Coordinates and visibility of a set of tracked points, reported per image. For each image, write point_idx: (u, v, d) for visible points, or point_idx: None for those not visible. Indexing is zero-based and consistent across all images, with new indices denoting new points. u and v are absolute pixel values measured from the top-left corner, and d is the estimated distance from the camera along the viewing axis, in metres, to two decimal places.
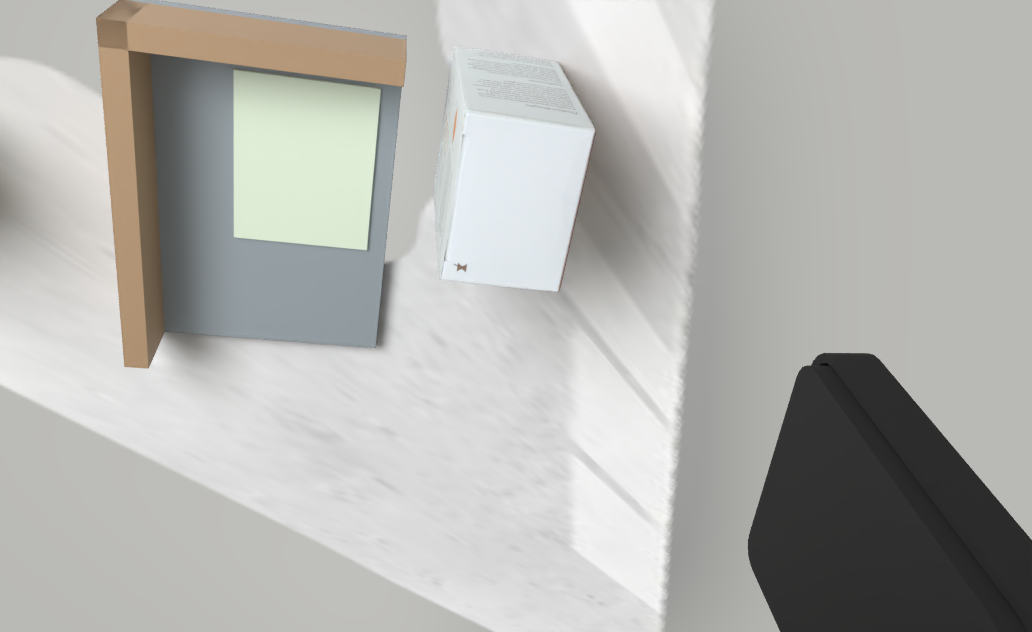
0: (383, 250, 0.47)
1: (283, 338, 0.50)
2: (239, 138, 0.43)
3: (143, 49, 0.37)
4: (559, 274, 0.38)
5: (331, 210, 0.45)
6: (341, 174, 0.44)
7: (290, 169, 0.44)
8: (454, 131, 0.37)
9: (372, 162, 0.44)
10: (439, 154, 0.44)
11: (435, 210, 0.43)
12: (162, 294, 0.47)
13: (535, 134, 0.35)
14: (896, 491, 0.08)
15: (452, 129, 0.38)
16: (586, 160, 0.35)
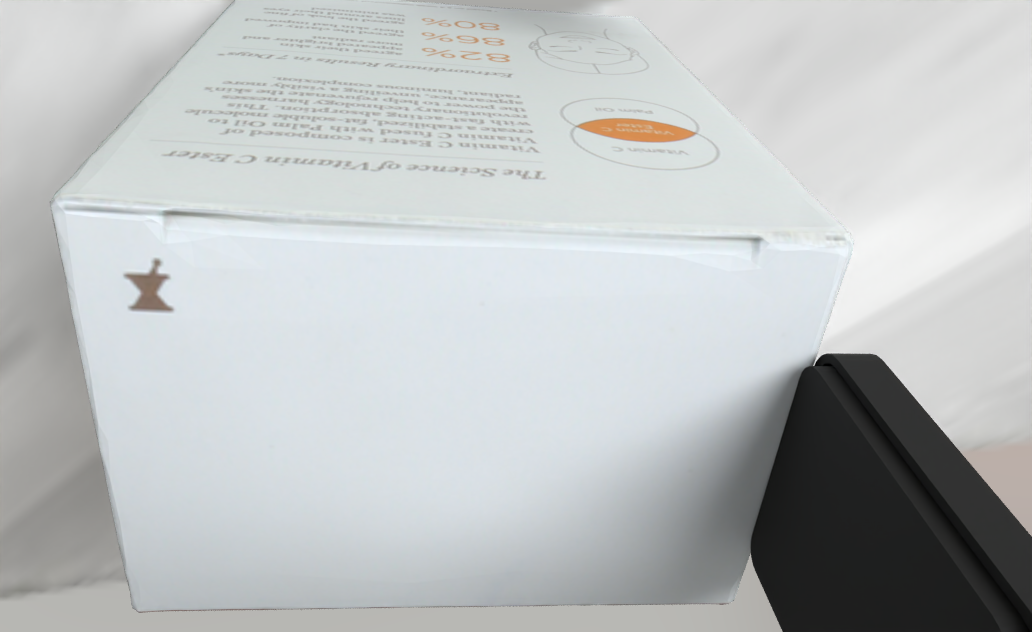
0: None
1: None
2: None
3: None
4: (208, 606, 0.10)
5: None
6: None
7: None
8: (628, 135, 0.11)
9: None
10: (369, 6, 0.16)
11: (228, 29, 0.13)
12: None
13: (743, 469, 0.10)
14: (900, 492, 0.08)
15: (586, 105, 0.12)
16: (641, 602, 0.11)
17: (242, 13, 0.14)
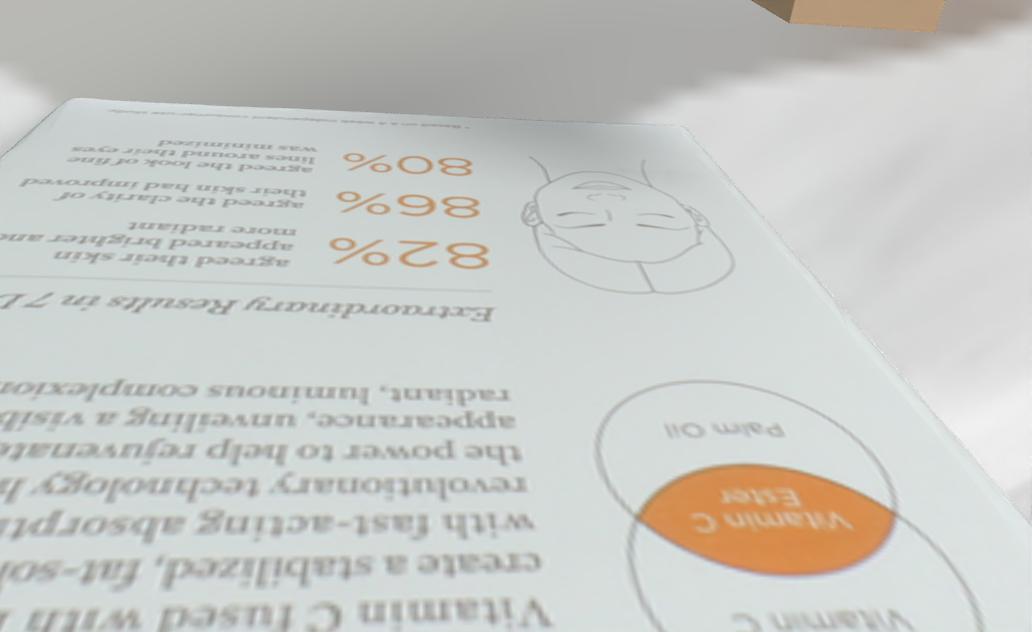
0: None
1: None
2: None
3: None
4: None
5: None
6: None
7: None
8: (758, 548, 0.05)
9: None
10: (261, 130, 0.10)
11: None
12: None
13: None
14: None
15: (645, 415, 0.06)
16: None
17: (25, 165, 0.08)
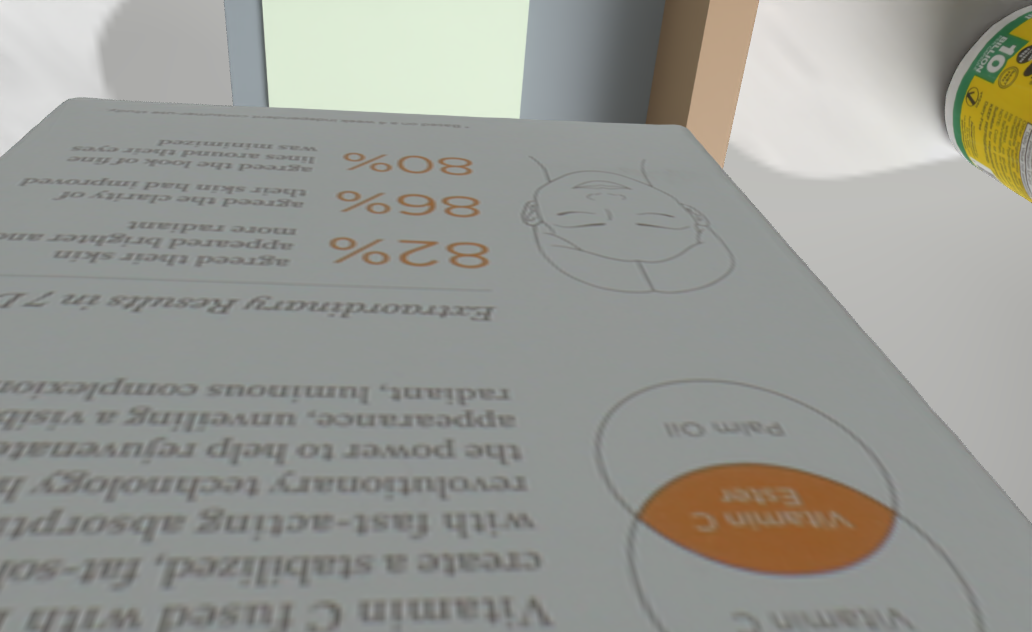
0: None
1: None
2: (510, 105, 0.24)
3: None
4: None
5: None
6: (326, 48, 0.23)
7: (422, 52, 0.23)
8: (758, 547, 0.05)
9: (270, 77, 0.23)
10: (261, 129, 0.10)
11: None
12: None
13: None
14: None
15: (645, 414, 0.06)
16: None
17: (25, 164, 0.08)
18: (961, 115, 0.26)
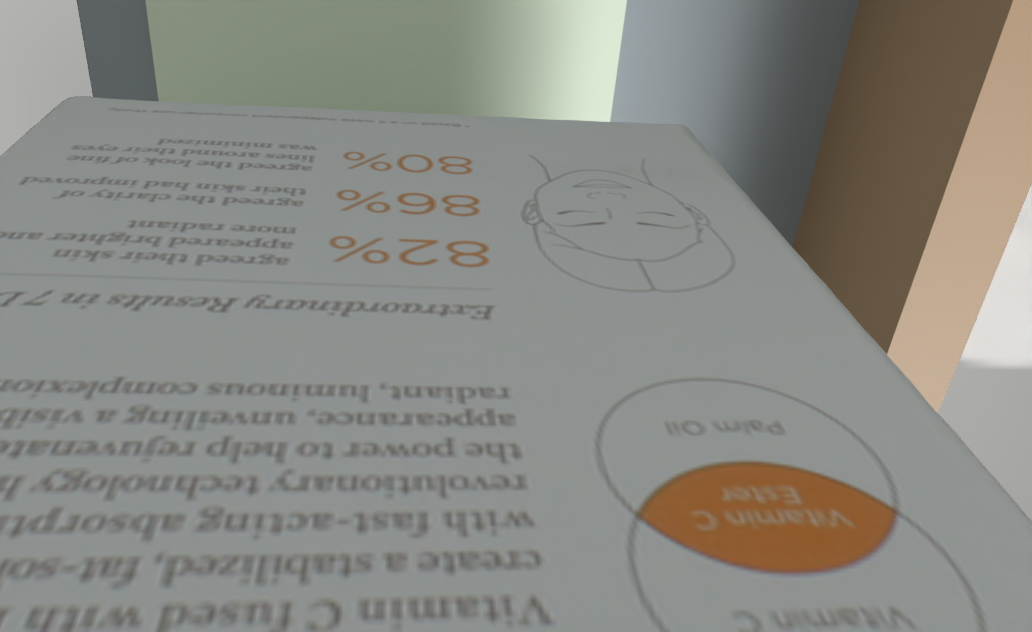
0: None
1: None
2: None
3: None
4: None
5: (294, 92, 0.13)
6: None
7: None
8: (758, 546, 0.05)
9: None
10: (261, 128, 0.10)
11: None
12: None
13: None
14: None
15: (646, 412, 0.06)
16: None
17: (25, 163, 0.08)
18: None
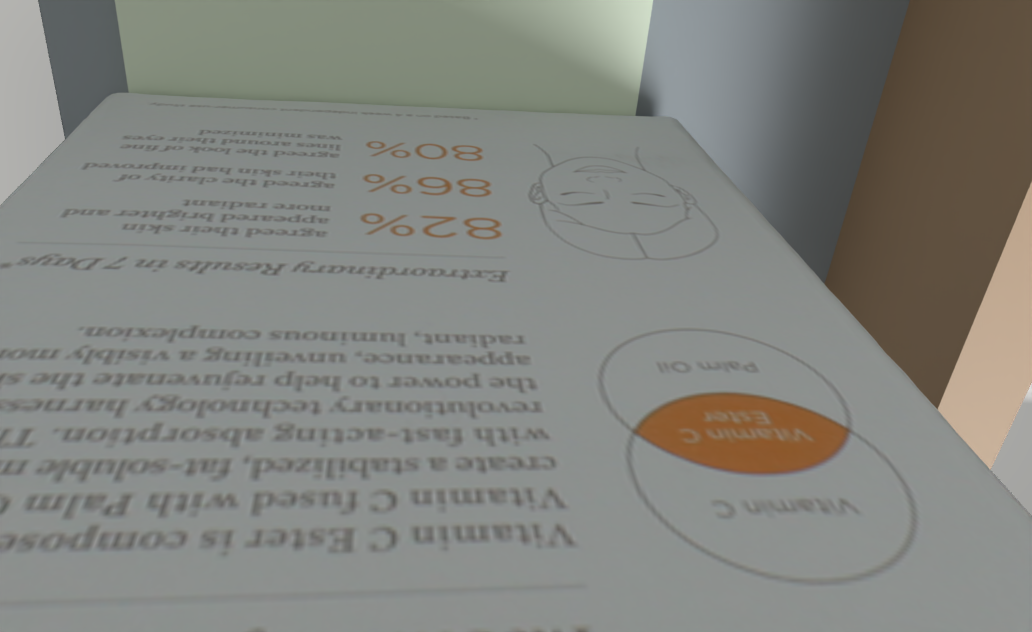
0: None
1: None
2: None
3: None
4: None
5: None
6: None
7: None
8: (734, 454, 0.06)
9: None
10: (290, 121, 0.11)
11: (46, 192, 0.08)
12: None
13: None
14: None
15: (640, 355, 0.07)
16: None
17: (84, 151, 0.09)
18: None
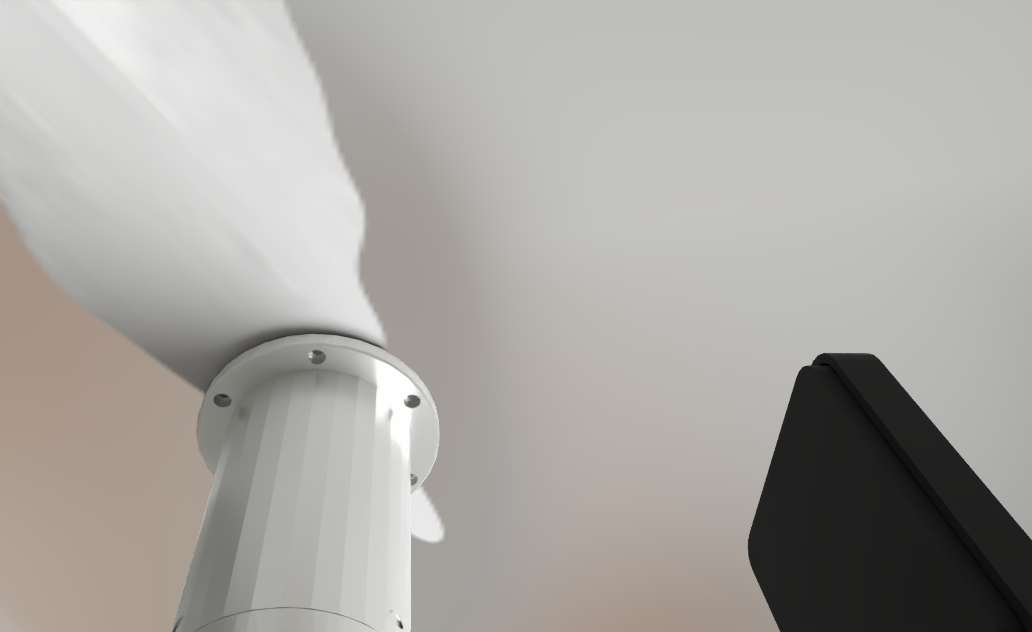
0: None
1: None
2: None
3: None
4: None
5: None
6: None
7: None
8: None
9: None
10: None
11: None
12: None
13: None
14: (896, 491, 0.08)
15: None
16: None
17: None
18: None
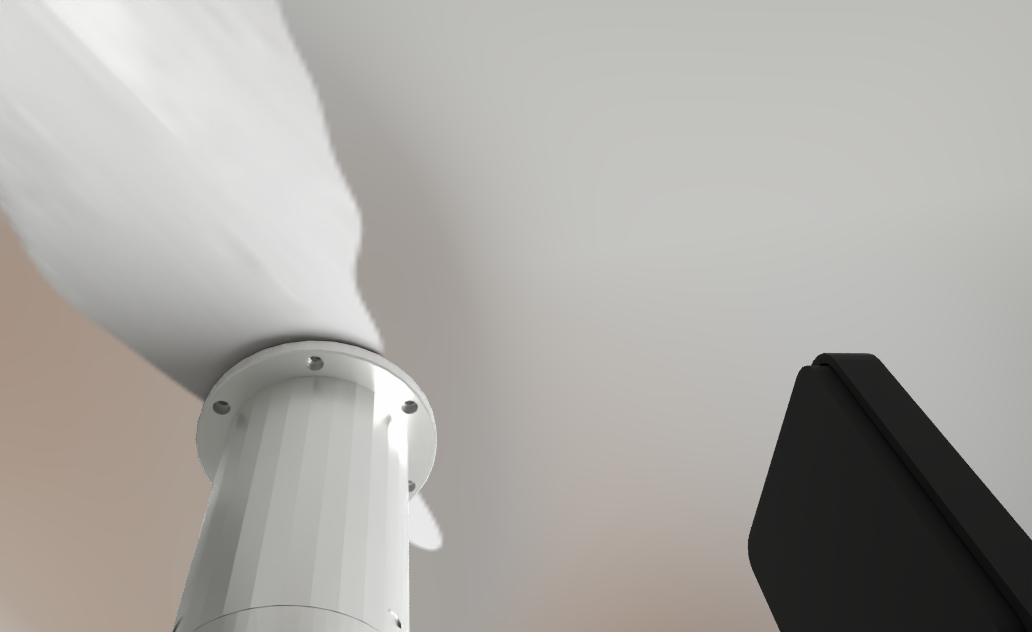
0: None
1: None
2: None
3: None
4: None
5: None
6: None
7: None
8: None
9: None
10: None
11: None
12: None
13: None
14: (896, 491, 0.08)
15: None
16: None
17: None
18: None
